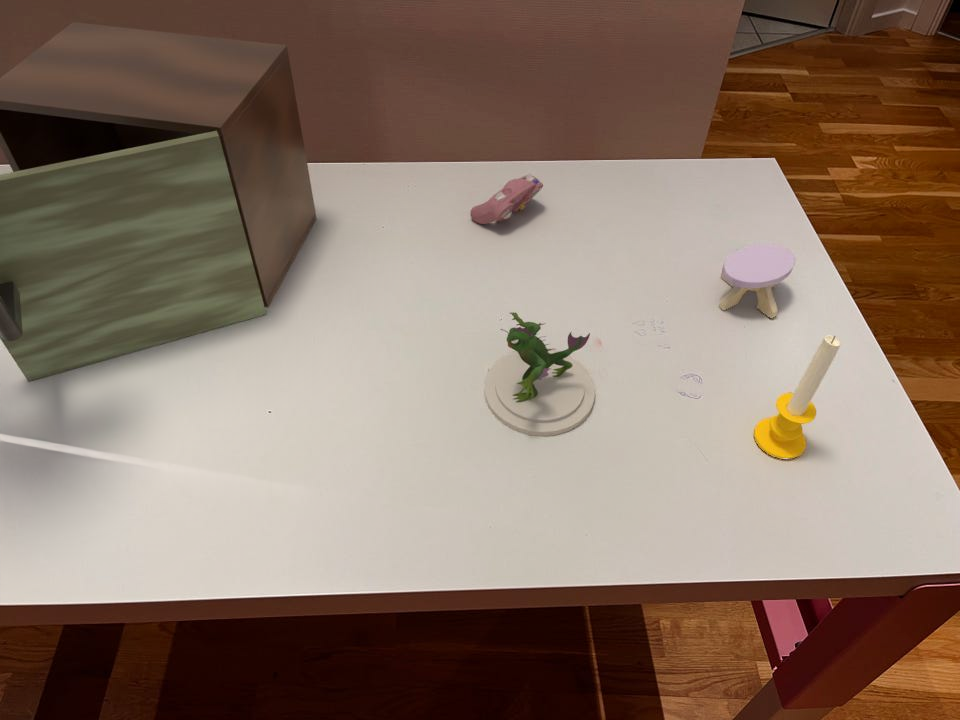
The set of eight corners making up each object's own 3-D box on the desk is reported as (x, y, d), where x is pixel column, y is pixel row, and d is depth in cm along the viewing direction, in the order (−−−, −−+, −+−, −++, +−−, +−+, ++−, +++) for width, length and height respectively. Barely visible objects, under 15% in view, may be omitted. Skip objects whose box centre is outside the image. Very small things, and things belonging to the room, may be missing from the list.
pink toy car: (486, 241, 101) (506, 213, 95) (465, 216, 101) (483, 186, 95) (533, 209, 106) (554, 181, 100) (512, 186, 106) (532, 156, 100)
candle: (784, 414, 80) (839, 310, 68) (815, 452, 76) (878, 349, 65) (743, 427, 78) (792, 322, 67) (772, 466, 75) (830, 363, 64)
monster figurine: (480, 354, 85) (482, 287, 77) (583, 350, 85) (596, 283, 78) (488, 439, 77) (492, 373, 69) (603, 433, 77) (618, 368, 70)
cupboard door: (281, 352, 84) (234, 172, 66) (32, 427, 76) (-96, 246, 59) (264, 309, 89) (216, 130, 71) (27, 375, 81) (-92, 193, 63)
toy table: (731, 330, 88) (744, 294, 84) (692, 281, 94) (704, 246, 90) (800, 312, 90) (817, 277, 86) (759, 266, 96) (773, 231, 92)
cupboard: (268, 308, 89) (220, 127, 71) (68, 278, 92) (-26, 97, 74) (317, 219, 101) (287, 45, 83) (138, 195, 104) (73, 21, 86)
